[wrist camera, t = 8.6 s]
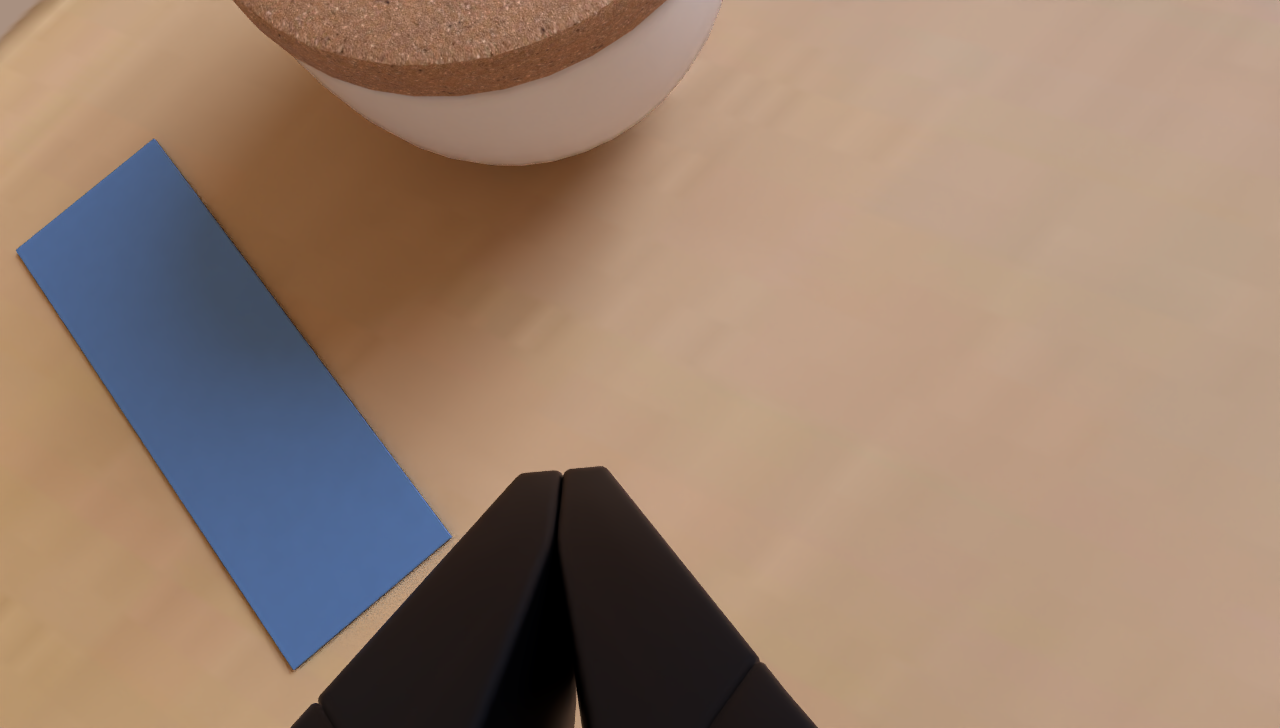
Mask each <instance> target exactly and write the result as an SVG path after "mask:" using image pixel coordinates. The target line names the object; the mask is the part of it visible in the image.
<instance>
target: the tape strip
mask: <svg viewBox="0 0 1280 728" xmlns="http://www.w3.org/2000/svg"><path fill="white" fill-rule="evenodd" d="M16 251H17V253H18V254H19V256H20V257H21V259H22V260H23V262H24V263H25V265H26V267H27V268H28V270H29V271H30V273H31V274H32V276H33V277H34V279H35V280H36V282H37V283H38V285H39V286H40V288H41V289H42V291H43V292H44V294H45V295H46V297H47V298H48V300H49V301H50V303H51V304H52V306H53V307H54V309H55V310H56V312H57V313H58V315H59V316H60V318H61V319H62V321H63V322H64V324H65V326H66V327H67V329H68V330H69V332H70V333H71V335H72V336H73V338H74V339H75V341H76V342H77V344H78V345H79V347H80V348H81V350H82V351H83V353H84V354H85V356H86V357H87V359H88V360H89V362H90V363H91V365H92V366H93V368H94V369H95V371H96V372H97V374H98V375H99V377H100V378H101V380H102V382H103V383H104V385H105V386H106V388H107V389H108V391H109V392H110V394H111V395H112V397H113V398H114V400H115V401H116V403H117V404H118V406H119V407H120V409H121V410H122V412H123V413H124V415H125V416H126V418H127V419H128V421H129V422H130V424H131V425H132V427H133V428H134V430H135V431H136V433H137V434H138V436H139V437H140V439H141V441H142V442H143V444H144V445H145V447H146V448H147V450H148V451H149V453H150V454H151V456H152V457H153V459H154V460H155V462H156V463H157V465H158V466H159V468H160V469H161V471H162V472H163V474H164V475H165V477H166V478H167V480H168V481H169V483H170V484H171V486H172V487H173V489H174V490H175V492H176V493H177V495H178V496H179V498H180V500H181V501H182V503H183V504H184V506H185V507H186V509H187V510H188V512H189V513H190V515H191V516H192V518H193V519H194V521H195V522H196V524H197V525H198V527H199V528H200V530H201V531H202V533H203V534H204V536H205V537H206V539H207V540H208V542H209V543H210V545H211V546H212V548H213V549H214V551H215V552H216V554H217V556H218V557H219V559H220V560H221V562H222V563H223V565H224V566H225V568H226V569H227V571H228V572H229V574H230V575H231V577H232V578H233V580H234V581H235V583H236V584H237V586H238V587H239V589H240V590H241V592H242V593H243V595H244V596H245V598H246V599H247V601H248V602H249V604H250V605H251V607H252V608H253V610H254V611H255V613H256V615H257V616H258V618H259V619H260V621H261V622H262V624H263V625H264V627H265V628H266V630H267V631H268V633H269V634H270V636H271V637H272V639H273V640H274V642H275V643H276V645H277V646H278V648H279V649H280V651H281V652H282V654H283V655H284V657H285V658H286V660H287V661H288V663H289V664H290V666H291V667H292V669H293V670H296V669H297V668H298V667H299V666H300V665H301V664H303V663H304V662H305V661H306V660H307V659H309V658H310V657H311V656H312V655H313V654H314V653H316V652H317V651H318V650H319V649H320V648H322V647H323V646H324V645H325V644H326V643H327V642H329V641H330V640H331V639H332V638H333V637H335V636H336V635H337V634H338V633H339V632H340V631H342V630H343V629H344V628H345V627H346V626H348V625H349V624H350V623H351V622H352V621H353V620H355V619H356V618H357V617H358V616H359V615H361V614H362V613H363V612H364V611H365V610H366V609H368V608H369V607H370V606H371V605H372V604H374V603H375V602H376V601H377V600H378V599H379V598H381V597H382V596H383V595H384V594H385V593H387V592H388V591H389V590H390V589H391V588H392V587H394V586H395V585H396V584H397V583H398V582H400V581H401V580H402V579H403V578H404V577H405V576H407V575H408V574H409V573H410V572H411V571H413V570H414V569H415V568H416V567H417V566H418V565H420V564H421V563H422V562H423V561H424V560H426V559H427V558H428V557H429V556H430V555H431V554H433V553H434V552H435V551H436V550H437V549H439V548H440V547H441V546H442V545H443V544H444V543H446V542H447V541H448V540H449V539H450V538H452V536H451V535H450V533H449V532H448V531H447V529H446V528H445V527H444V525H443V524H442V523H441V521H440V520H439V519H438V517H437V516H436V515H435V513H434V512H433V511H432V509H431V508H430V507H429V505H428V504H427V503H426V501H425V500H424V499H423V497H422V496H421V495H420V493H419V492H418V491H417V489H416V488H415V487H414V485H413V484H412V483H411V481H410V480H409V479H408V477H407V476H406V474H405V473H404V472H403V470H402V469H401V468H400V466H399V465H398V464H397V462H396V461H395V460H394V458H393V457H392V456H391V454H390V453H389V452H388V450H387V449H386V448H385V446H384V445H383V444H382V442H381V441H380V440H379V438H378V437H377V436H376V434H375V433H374V432H373V430H372V429H371V428H370V426H369V425H368V424H367V422H366V421H365V420H364V418H363V417H362V416H361V414H360V413H359V411H358V410H357V409H356V407H355V406H354V405H353V403H352V402H351V401H350V399H349V398H348V397H347V395H346V394H345V393H344V391H343V390H342V389H341V387H340V386H339V385H338V383H337V382H336V381H335V379H334V378H333V377H332V375H331V374H330V373H329V371H328V370H327V369H326V367H325V366H324V365H323V363H322V362H321V361H320V359H319V358H318V357H317V355H316V354H315V353H314V351H313V350H312V348H311V347H310V346H309V344H308V343H307V342H306V340H305V339H304V338H303V336H302V335H301V334H300V332H299V331H298V330H297V328H296V327H295V326H294V324H293V323H292V322H291V320H290V319H289V318H288V316H287V315H286V314H285V312H284V311H283V310H282V308H281V307H280V306H279V304H278V303H277V302H276V300H275V299H274V298H273V296H272V295H271V294H270V292H269V291H268V290H267V288H266V287H265V285H264V284H263V283H262V281H261V280H260V279H259V277H258V276H257V275H256V273H255V272H254V271H253V269H252V268H251V267H250V265H249V264H248V263H247V261H246V260H245V259H244V257H243V256H242V255H241V253H240V252H239V251H238V249H237V248H236V247H235V245H234V244H233V243H232V241H231V240H230V239H229V237H228V236H227V235H226V233H225V232H224V231H223V229H222V228H221V227H220V225H219V224H218V222H217V221H216V220H215V218H214V217H213V216H212V214H211V213H210V212H209V210H208V209H207V208H206V206H205V205H204V204H203V202H202V201H201V200H200V198H199V197H198V196H197V194H196V193H195V192H194V190H193V189H192V188H191V186H190V185H189V184H188V182H187V181H186V180H185V178H184V177H183V176H182V174H181V173H180V172H179V170H178V169H177V168H176V166H175V165H174V164H173V162H172V161H171V159H170V158H169V157H168V155H167V154H166V153H165V151H164V150H163V149H162V147H161V146H160V145H159V143H158V142H157V141H156V140H155V139H153V140H151V141H150V142H149V143H148V144H146V145H145V146H144V147H143V148H141V149H140V150H139V151H138V152H136V153H135V154H134V155H133V156H132V157H130V158H129V159H128V160H127V161H125V162H124V163H123V164H122V165H120V166H119V167H118V168H117V169H115V170H114V171H113V172H112V173H111V174H109V175H108V176H107V177H106V178H104V179H103V180H102V181H101V182H99V183H98V184H97V185H96V186H94V187H93V188H92V189H91V190H89V191H88V192H87V193H86V194H85V195H83V196H82V197H81V198H80V199H78V200H77V201H76V202H75V203H73V204H72V205H71V206H70V207H68V208H67V209H66V210H65V211H64V212H62V213H61V214H60V215H59V216H57V217H56V218H55V219H54V220H52V221H51V222H50V223H49V224H47V225H46V226H45V227H44V228H43V229H41V230H40V231H39V232H38V233H36V234H35V235H34V236H33V237H31V238H30V239H29V240H28V241H26V242H25V243H24V244H23V245H22V246H20V247H19V248H18V249H17V250H16Z"/></svg>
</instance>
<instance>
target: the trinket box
mask: <svg viewBox="0 0 1280 728" xmlns="http://www.w3.org/2000/svg"><path fill="white" fill-rule="evenodd" d="M233 1H234V2H235V3H236V4H237V6H238V7H239V8H240V9H241V10H242V11H243V12H244V14H245V15H246V16H247V17H248V18H249V19H250V20H251V21H252V22H253V23H254V24H255V25H256V26H257V27H258V28H259V29H260V30H261V31H262V32H263V33H264V34H265V35H267V36H268V37H269V38H270V39H272V40H273V41H274V42H276V43H277V44H278V45H279V46H281V47H282V48H283V49H285V50H286V51H287V52H288V53H290V54H291V55H292V56H293V57H294V58H295V59H296V60H297V61H298V62H299V63H300V64H301V65H302V66H303V67H304V68H305V69H306V70H307V71H308V72H309V73H310V74H311V75H312V76H313V77H314V78H315V79H316V80H317V81H318V82H319V83H320V84H321V85H323V86H324V87H325V88H327V89H328V90H329V91H330V92H332V93H333V94H334V95H336V96H337V97H338V98H339V99H341V100H342V101H343V102H345V103H346V104H347V105H348V106H350V107H351V108H352V109H354V110H355V111H356V112H358V113H359V114H360V115H362V116H363V117H364V118H366V119H367V120H369V121H370V122H371V123H373V124H375V125H377V126H379V127H381V128H382V129H384V130H386V131H388V132H390V133H392V134H394V135H396V136H398V137H399V138H401V139H403V140H405V141H407V142H409V143H411V144H413V145H415V146H417V147H419V148H421V149H424V150H427V151H430V152H433V153H436V154H439V155H442V156H445V157H448V158H452V159H457V160H463V161H469V162H475V163H482V164H488V165H506V166H524V165H531V164H538V163H545V162H552V161H557V160H560V159H564V158H567V157H570V156H574V155H577V154H580V153H584V152H586V151H588V150H590V149H593V148H595V147H597V146H599V145H601V144H604V143H606V142H608V141H610V140H612V139H614V138H616V137H617V136H619V135H620V134H622V133H623V132H625V131H626V130H628V129H629V128H631V127H633V126H634V125H636V124H637V123H639V122H640V121H641V120H642V119H643V118H645V117H646V116H647V115H648V114H649V113H650V112H651V111H653V110H654V109H655V108H656V107H657V106H658V105H659V104H661V103H662V102H663V101H664V100H665V98H666V97H667V96H668V95H669V94H670V92H671V91H672V90H673V89H674V88H675V87H676V85H677V84H678V83H679V82H680V81H681V79H682V78H683V77H684V75H685V74H686V73H687V71H688V70H689V69H690V67H691V66H692V64H693V62H694V61H695V59H696V57H697V56H698V54H699V52H700V51H701V49H702V48H703V46H704V44H705V43H706V41H707V39H708V37H709V35H710V32H711V30H712V27H713V25H714V23H715V20H716V18H717V15H718V13H719V10H720V8H721V5H722V2H723V0H233Z"/></svg>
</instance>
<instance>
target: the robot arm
mask: <svg viewBox="0 0 1280 728" xmlns="http://www.w3.org/2000/svg"><path fill="white" fill-rule="evenodd" d="M576 688H577V695H578V702H579V709H580V716H581V723H582V728H818V727H817V726H816V725H815V724H814V723H813V722H812V720H811V719H810V718H809V717H808V716H807V715H806V713H805V712H804V711H803V710H802V709H801V708H800V707H799V705H798V704H797V703H796V702H795V701H794V700H793V698H792V697H791V696H790V695H789V694H788V693H787V691H786V690H785V689H784V688H783V686H782V685H781V684H780V683H779V681H778V680H777V679H776V678H775V676H774V675H773V674H772V673H771V671H770V670H769V669H768V668H767V666H766V665H765V664H764V663H762V662H760V661H759V657H758V656H757V655H756V653H755V652H754V651H753V650H752V648H751V647H750V646H749V645H748V643H747V642H746V641H745V640H744V638H743V637H742V636H741V635H740V633H739V632H738V631H737V630H736V628H735V627H734V626H733V625H732V623H731V622H730V621H729V620H728V618H727V617H726V616H725V615H724V614H723V612H722V611H721V610H720V609H719V607H718V606H717V605H716V604H715V602H714V601H713V600H712V599H711V597H710V596H709V595H708V594H707V592H706V591H705V590H704V589H703V587H702V586H701V585H700V584H699V582H698V581H697V580H696V579H695V577H694V576H693V575H692V574H691V572H690V571H689V570H688V569H687V567H686V566H685V565H684V564H683V562H682V561H681V560H680V559H679V557H678V556H677V555H676V554H675V552H674V551H673V550H672V549H671V547H670V546H669V545H668V544H667V543H666V541H665V540H664V539H663V538H662V536H661V535H660V534H659V533H658V531H657V530H656V529H655V528H654V526H653V525H652V524H651V523H650V521H649V520H648V519H647V518H646V516H645V515H644V514H643V513H642V511H641V510H640V509H639V508H638V506H637V505H636V504H635V503H634V501H633V500H632V499H631V498H630V496H629V495H628V494H627V493H626V491H625V490H624V489H623V488H622V486H621V485H620V484H619V483H618V481H617V480H616V479H615V478H614V477H613V475H612V474H611V473H610V472H609V470H608V469H607V468H605V467H603V466H597V467H587V468H576V469H569V470H567V471H566V472H565V473H564V475H562V474H561V473H560V472H559V471H554V470H553V471H542V472H530V473H523V474H520V475H519V476H518V477H516V478H515V480H514V481H513V482H512V483H511V484H510V485H509V486H508V487H507V488H506V490H505V491H504V492H503V493H502V494H501V495H500V496H499V497H498V498H497V500H496V501H495V502H494V503H493V504H492V505H491V506H490V507H489V508H488V510H487V511H486V512H485V513H484V514H483V515H482V516H481V517H480V518H479V519H478V521H477V522H476V523H475V524H474V525H473V526H472V527H471V528H470V529H469V531H468V532H467V533H466V534H465V535H464V536H463V537H462V538H461V539H460V541H459V542H458V543H457V544H456V545H455V546H454V547H453V548H452V549H451V551H450V552H449V553H448V554H447V555H446V556H445V557H444V558H443V559H442V561H441V562H440V563H439V564H438V565H437V566H436V567H435V568H434V569H433V571H432V572H431V573H430V574H429V575H428V576H427V577H426V578H425V579H424V581H423V582H422V583H421V584H420V585H419V586H418V587H417V588H416V589H415V591H414V592H413V593H412V594H411V595H410V596H409V597H408V598H407V599H406V601H405V602H404V603H403V604H402V605H401V606H400V607H399V608H398V609H397V610H396V612H395V613H394V614H393V615H392V616H391V617H390V618H389V619H388V620H387V622H386V623H385V624H384V625H383V626H382V627H381V628H380V629H379V630H378V632H377V633H376V634H375V635H374V636H373V637H372V638H371V639H370V640H369V642H368V643H367V644H366V645H365V646H364V647H363V648H362V649H361V650H360V652H359V653H358V654H357V655H356V656H355V657H354V658H353V659H352V660H351V662H350V663H349V664H348V665H347V666H346V667H345V668H344V669H343V670H342V672H341V673H340V674H339V675H338V676H337V677H336V678H335V679H334V680H333V682H332V683H331V684H330V685H329V686H328V687H327V688H326V689H325V690H324V691H323V693H322V694H321V695H320V696H319V698H318V702H319V704H318V703H314V704H312V705H310V707H309V708H308V709H307V710H306V711H305V712H304V713H303V714H302V715H301V716H300V718H299V719H298V720H297V721H296V722H295V723H294V724H293V725H292V726H291V728H574V724H575V710H576Z"/></svg>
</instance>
